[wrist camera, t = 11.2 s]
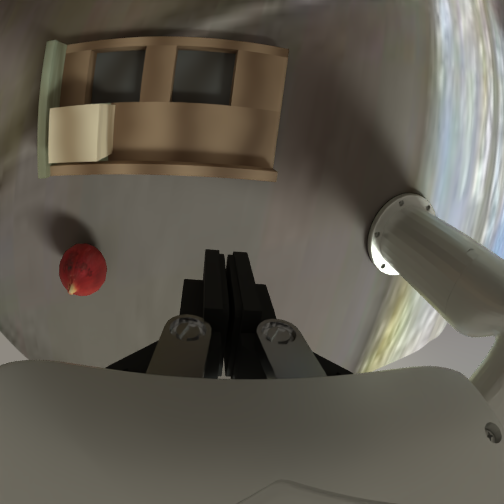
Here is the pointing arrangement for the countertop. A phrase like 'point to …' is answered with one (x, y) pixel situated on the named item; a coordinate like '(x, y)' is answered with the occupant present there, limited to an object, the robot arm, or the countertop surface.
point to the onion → (82, 269)
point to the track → (170, 104)
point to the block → (80, 133)
